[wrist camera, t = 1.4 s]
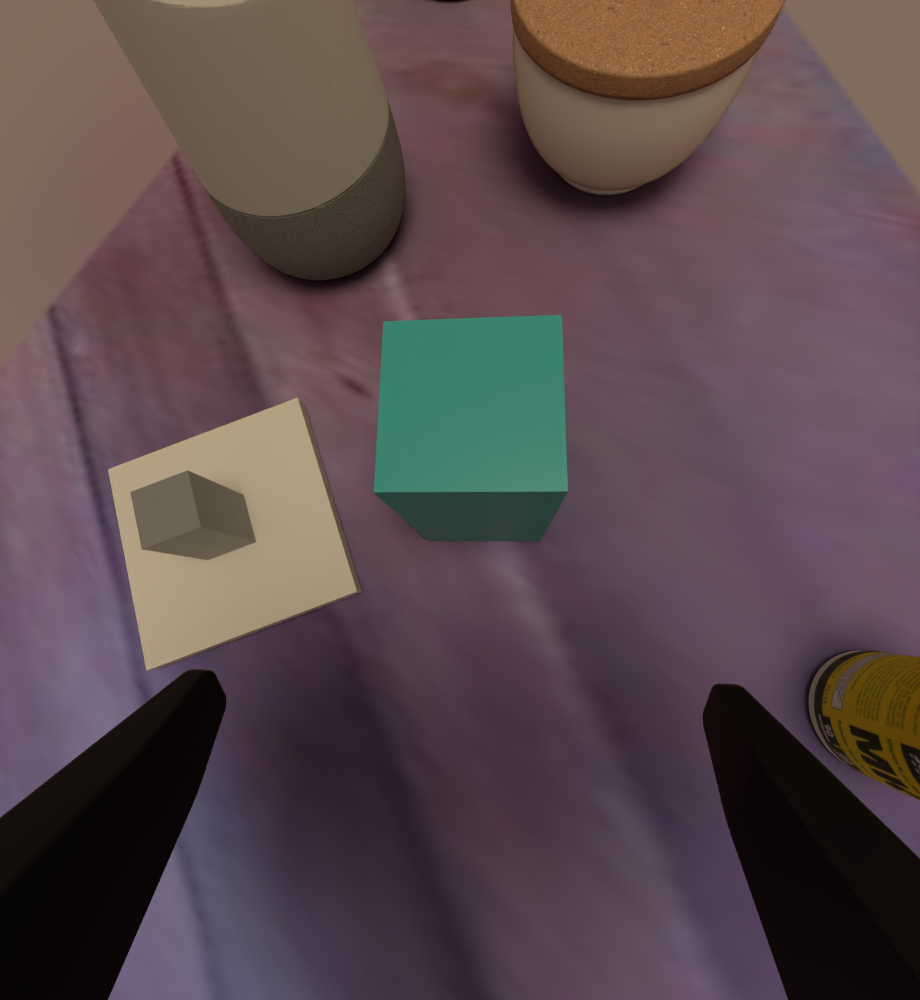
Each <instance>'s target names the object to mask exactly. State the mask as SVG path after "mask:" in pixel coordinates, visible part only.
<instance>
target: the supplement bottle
mask: <svg viewBox="0 0 920 1000" xmlns="http://www.w3.org/2000/svg"><path fill="white" fill-rule="evenodd" d="M809 713H810V717H811V721H812V724H813V726H814V729H815V731H816V733H817V735H818V736H819V738H820V740H821V741H822V742H823V744H824V745H825V746H826V748H827V749H828V750H829V751H830V752H831V753H832V754H833V755H834V756H835V757H836V758H837V759H839V760H840V761H841V762H843V763H844V764H846V765H847V766H849V767H851V768H852V769H854V770H856V771H858V772H860V773H862V774H864V775H866V776H868V777H870V778H873V779H875V780H877V781H879V782H881V783H883V784H885V785H887V786H890V787H892V788H894V789H896V790H898V791H900V792H903V793H905V794H907V795H909V796H911V797H913V798H915V799H918V800H920V657H915V656H907V655H900V654H892V653H884V652H877V651H866V650H858V651H849V652H845V653H842V654H839V655H837V656H835V657H833V658H832V659H830V660H829V661H827V662H826V663H825V664H824V665H823V666H822V667H821V668H820V669H819V671H818V672H817V674H816V675H815V677H814V679H813V682H812V684H811V687H810V692H809Z"/></svg>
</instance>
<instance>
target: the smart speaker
mask: <svg viewBox="0 0 920 1000" xmlns="http://www.w3.org/2000/svg"><path fill="white" fill-rule="evenodd" d="M94 2H95V4H96V6H97V7H98V9H99V11H100V12H101V14H102V16H103V17H104V19H105V21H106V22H107V24H108V26H109V28H110V29H111V31H112V33H113V34H114V36H115V38H116V40H117V41H118V43H119V45H120V46H121V48H122V49H123V51H124V53H125V55H126V56H127V58H128V60H129V62H130V63H131V65H132V67H133V68H134V70H135V72H136V73H137V75H138V77H139V79H140V80H141V82H142V84H143V85H144V87H145V89H146V90H147V92H148V94H149V96H150V97H151V99H152V101H153V102H154V104H155V106H156V107H157V109H158V111H159V113H160V114H161V116H162V118H163V119H164V121H165V123H166V124H167V126H168V128H169V130H170V131H171V133H172V135H173V136H174V138H175V140H176V142H177V143H178V145H179V147H180V148H181V150H182V152H183V153H184V155H185V157H186V159H187V160H188V162H189V164H190V165H191V167H192V169H193V170H194V172H195V174H196V176H197V177H198V179H199V181H200V182H201V184H202V185H203V187H204V189H205V190H206V192H207V193H208V195H209V196H210V198H211V199H212V201H213V203H214V204H215V206H216V207H217V209H218V210H219V212H220V213H221V215H222V216H223V217H224V219H225V220H226V222H227V223H228V224H229V226H230V227H231V228H232V230H233V231H234V232H235V233H236V235H237V236H238V237H239V238H240V239H241V240H242V241H243V243H244V244H245V245H246V246H247V247H248V248H249V249H251V250H252V251H253V252H254V253H255V254H256V255H257V256H258V257H260V258H261V259H262V260H264V261H265V262H266V263H268V264H269V265H271V266H272V267H274V268H276V269H278V270H279V271H281V272H284V273H286V274H289V275H292V276H295V277H298V278H302V279H308V280H330V279H336V278H340V277H344V276H347V275H350V274H352V273H354V272H356V271H358V270H360V269H362V268H364V267H365V266H367V265H368V264H370V263H371V262H372V261H374V260H375V259H376V258H377V257H378V256H379V255H380V254H381V253H382V252H383V251H384V250H385V249H386V247H387V246H388V245H389V243H390V242H391V240H392V238H393V237H394V235H395V233H396V230H397V228H398V225H399V223H400V220H401V216H402V212H403V207H404V199H405V172H404V162H403V156H402V151H401V146H400V142H399V138H398V134H397V130H396V126H395V123H394V119H393V116H392V113H391V109H390V106H389V102H388V99H387V96H386V93H385V90H384V87H383V84H382V81H381V78H380V75H379V73H378V70H377V67H376V64H375V61H374V58H373V55H372V53H371V50H370V47H369V44H368V41H367V38H366V35H365V33H364V30H363V27H362V24H361V21H360V18H359V15H358V13H357V10H356V7H355V4H354V1H353V0H94Z"/></svg>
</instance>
